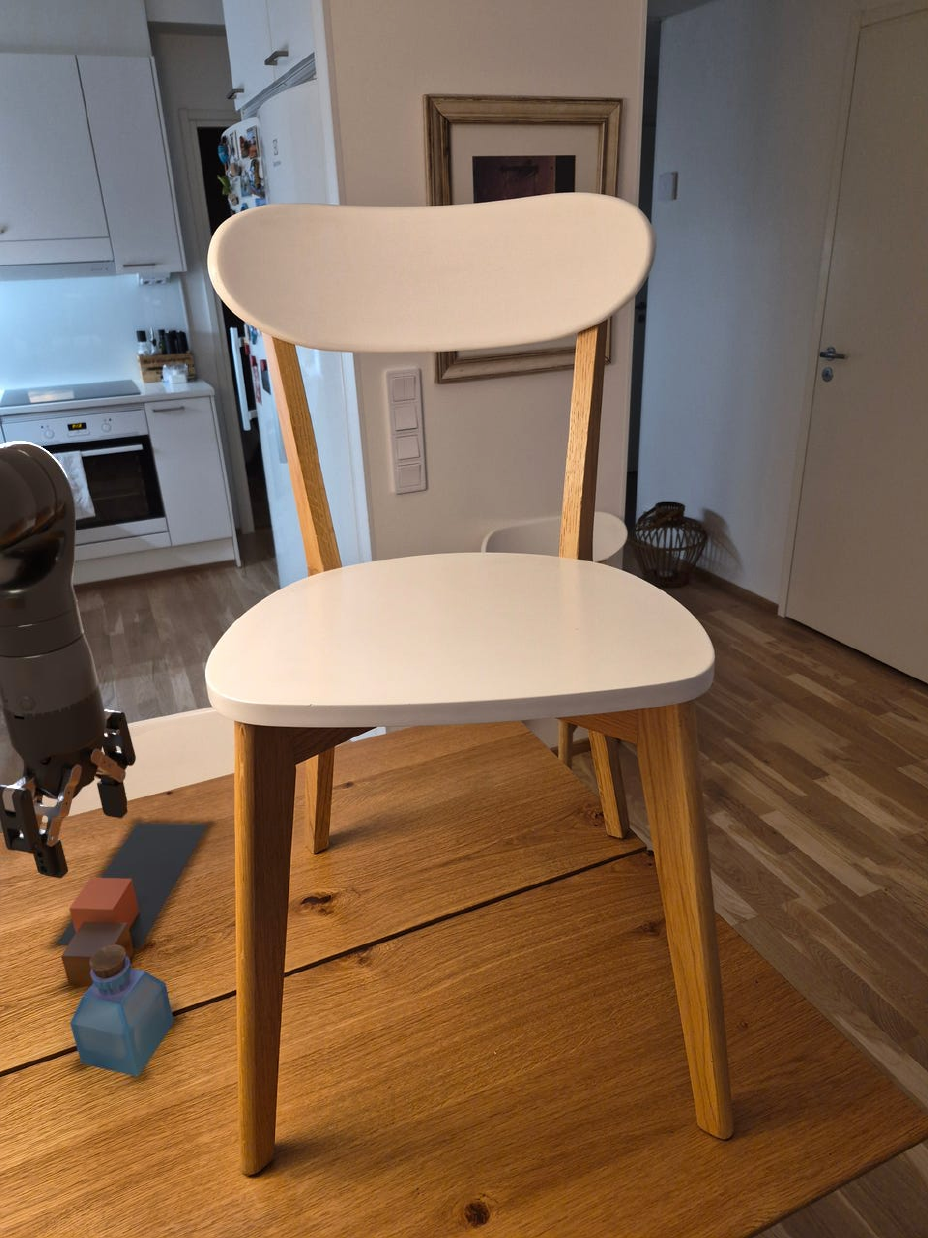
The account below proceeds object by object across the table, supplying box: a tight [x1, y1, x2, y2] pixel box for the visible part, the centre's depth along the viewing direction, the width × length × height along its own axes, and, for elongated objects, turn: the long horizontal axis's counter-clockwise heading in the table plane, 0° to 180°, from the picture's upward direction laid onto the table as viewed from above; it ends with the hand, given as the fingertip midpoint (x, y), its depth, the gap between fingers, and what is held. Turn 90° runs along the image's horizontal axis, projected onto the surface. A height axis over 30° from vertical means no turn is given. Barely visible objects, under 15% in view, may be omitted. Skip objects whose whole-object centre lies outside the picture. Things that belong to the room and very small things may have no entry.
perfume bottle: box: [69, 945, 175, 1078], centre depth 79 cm, size 6×6×12 cm
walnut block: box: [60, 921, 135, 988], centre depth 89 cm, size 5×5×5 cm
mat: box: [55, 822, 208, 949], centre depth 102 cm, size 10×22×6 cm, turn 176°
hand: (87, 843), depth 75 cm, fingers open, 8 cm apart
